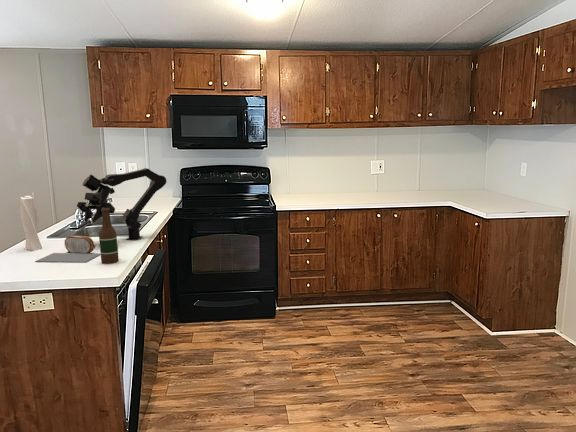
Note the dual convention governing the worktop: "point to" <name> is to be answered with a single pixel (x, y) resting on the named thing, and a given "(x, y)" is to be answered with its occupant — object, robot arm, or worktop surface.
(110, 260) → the beer bottle
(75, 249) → the tin
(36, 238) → the skyscraper
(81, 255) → the slate mat
